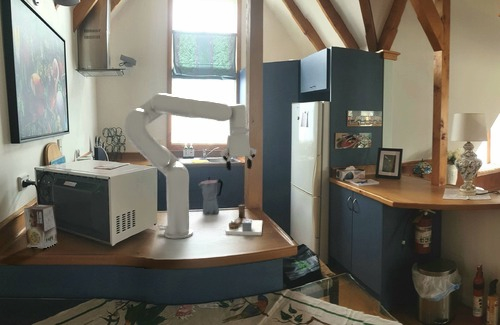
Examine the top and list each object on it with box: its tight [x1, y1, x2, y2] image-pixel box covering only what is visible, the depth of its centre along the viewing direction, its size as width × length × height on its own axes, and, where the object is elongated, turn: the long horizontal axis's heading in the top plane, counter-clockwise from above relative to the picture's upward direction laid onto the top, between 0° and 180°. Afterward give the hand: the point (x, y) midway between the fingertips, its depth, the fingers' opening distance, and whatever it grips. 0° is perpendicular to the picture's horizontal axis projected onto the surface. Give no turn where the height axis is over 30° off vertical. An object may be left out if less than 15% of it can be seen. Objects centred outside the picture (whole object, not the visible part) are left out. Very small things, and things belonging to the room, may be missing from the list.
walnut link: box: [228, 204, 247, 228], centre depth 163 cm, size 15×4×8 cm, turn 161°
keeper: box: [230, 218, 253, 231], centre depth 157 cm, size 10×6×4 cm, turn 86°
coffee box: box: [23, 204, 58, 249], centre depth 138 cm, size 9×6×16 cm
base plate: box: [225, 219, 263, 236], centre depth 162 cm, size 16×18×2 cm
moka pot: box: [198, 176, 224, 215], centre depth 189 cm, size 10×15×20 cm, turn 133°
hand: (239, 169), depth 157 cm, fingers open, 9 cm apart
